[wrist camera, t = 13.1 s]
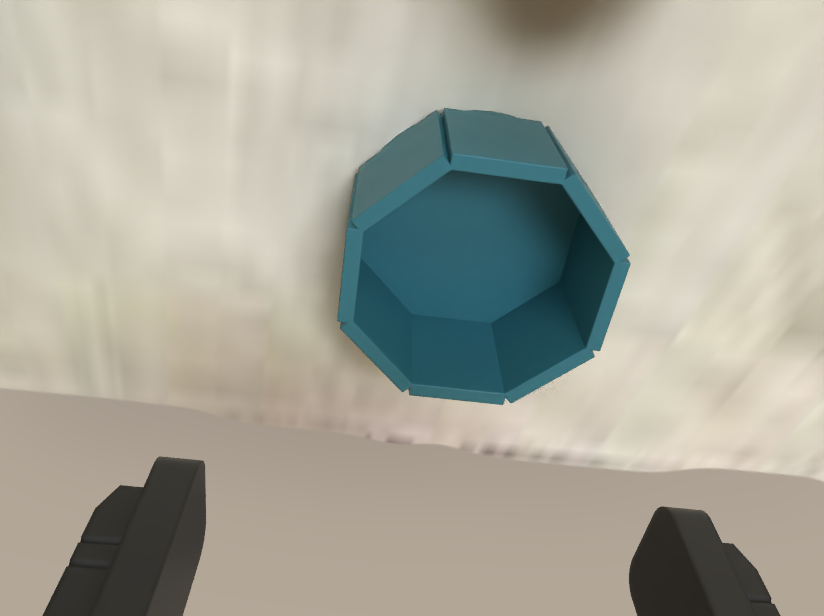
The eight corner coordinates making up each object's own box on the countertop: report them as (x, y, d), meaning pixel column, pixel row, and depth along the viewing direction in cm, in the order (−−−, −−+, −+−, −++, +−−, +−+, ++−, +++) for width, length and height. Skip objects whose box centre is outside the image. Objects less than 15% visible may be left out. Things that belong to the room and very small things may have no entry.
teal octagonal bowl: (341, 311, 43) (330, 387, 37) (364, 93, 36) (355, 139, 30) (553, 335, 44) (578, 413, 38) (615, 128, 37) (660, 181, 31)
